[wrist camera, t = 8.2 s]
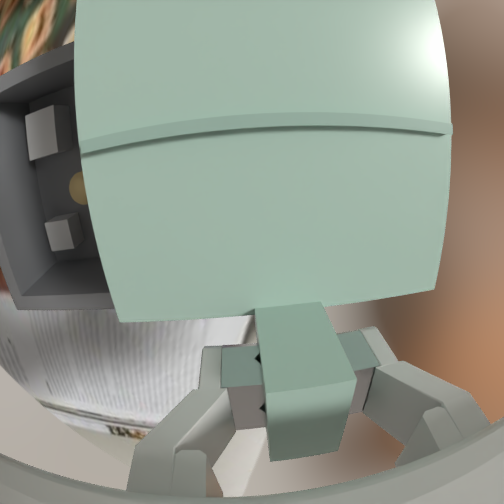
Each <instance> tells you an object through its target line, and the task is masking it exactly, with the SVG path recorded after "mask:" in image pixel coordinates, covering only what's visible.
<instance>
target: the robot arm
mask: <svg viewBox="0 0 504 504" xmlns="http://www.w3.org/2000/svg"><path fill="white" fill-rule="evenodd" d="M336 334H337V336H338V339H339V341H340V343H341V345H342V347H343V349H344V351H345V354H346V356H347V358H348V360H349V362H350V365H351V367H352V369H353V371H354V373H355V376H356V378H357V382H356V386H355V390H354V394H353V399H352V403H351V406H350V410H349V414H353V413H358V412H362V411H363V413H364V414H365V415H366V416H368V417H369V418H370V419H371V420H373V421H374V422H375V423H376V424H378V425H379V426H380V427H382V428H383V429H384V430H385V431H387V432H388V433H389V434H391V435H392V436H393V437H394V438H396V439H397V440H398V441H400V442H401V443H402V444H404V445H405V448H404V449H403V451H402V453H401V454H400V456H399V457H398V459H397V461H396V462H395V465H396V468H393V469H390V470H387V471H384V472H380V473H377V474H374V475H370V476H367V477H364V478H359V479H356V480H352V481H347V482H343V483H339V484H335V485H330V486H325V487H320V488H315V489H308V490H303V491H296V492H289V493H281V494H271V495H260V496H247V497H223V492H222V490H221V487H220V485H219V483H218V481H217V479H216V476H215V474H214V472H213V469H212V467H213V465H214V464H215V463H216V461H217V460H218V458H219V457H220V455H221V454H222V452H223V451H224V449H225V448H226V446H227V445H228V443H229V442H230V440H231V439H232V437H233V435H234V434H235V432H236V430H242V429H252V428H261V427H267V426H266V412H265V404H264V403H265V397H264V384H263V376H262V368H261V364H260V352H259V345H258V343H254V344H238V345H223V346H204V348H203V350H202V358H201V368H200V377H199V387H198V389H196V390H192V391H191V392H190V393H189V394H188V395H187V396H186V397H185V398H184V399H183V400H182V401H181V402H180V403H179V404H178V405H177V406H176V407H175V408H174V409H173V410H172V411H171V412H170V413H169V414H168V415H167V416H166V417H165V418H164V419H163V420H162V421H161V422H160V423H159V424H158V425H157V426H155V427H154V428H153V429H152V430H151V431H150V432H149V433H148V434H147V435H146V436H145V437H144V438H143V439H142V440H141V441H140V442H139V443H138V444H137V445H136V446H135V450H134V455H133V459H132V464H131V469H130V474H129V479H128V484H127V489H126V490H120V489H114V488H109V487H104V486H99V485H95V484H90V483H86V482H82V481H78V480H74V479H70V478H67V477H63V476H60V475H57V474H54V473H50V472H47V471H44V470H41V469H39V468H36V467H33V466H30V465H28V464H25V463H22V462H20V461H17V460H15V459H12V458H10V457H8V456H5V455H3V454H1V453H0V504H504V417H503V418H501V419H499V420H498V421H496V422H494V423H493V424H490V422H489V421H488V419H487V418H486V416H485V415H484V413H483V412H482V410H481V409H480V407H479V406H478V404H477V403H476V401H475V400H474V399H473V397H472V396H471V394H470V393H469V392H467V391H465V390H463V389H461V388H459V387H456V386H454V385H452V384H450V383H448V382H446V381H444V380H442V379H440V378H438V377H436V376H433V375H431V374H429V373H427V372H425V371H423V370H421V369H419V368H417V367H415V366H413V365H411V364H409V363H407V362H405V361H400V362H398V360H397V358H396V357H395V355H394V354H393V352H392V351H391V349H390V348H389V346H388V344H387V343H386V341H385V340H384V338H383V337H382V335H381V334H380V332H379V331H378V329H377V328H376V327H374V326H373V327H368V328H363V329H358V330H354V331H349V332H343V333H336Z"/></svg>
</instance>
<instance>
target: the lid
mask: <svg viewBox="0 0 504 504" xmlns="http://www.w3.org/2000/svg"><path fill="white" fill-rule="evenodd" d="M74 86H75V106H76V120H77V131H78V140H79V149H80V157H81V164H82V171H83V177H84V184H85V190H86V195H87V201H88V206H89V211H90V216H91V221H92V225H93V230H94V234H95V238H96V243H97V247H98V251H99V255H100V259H101V262H102V266H103V270H104V273H105V277H106V280H107V284H108V287H109V291H110V294H111V297H112V300H113V303H114V307H115V310H116V313H117V316H118V319H119V322H151V321H173V320H191V319H206V318H220V317H233V316H244V315H255V325H256V337H257V343H258V345H259V352H260V364H261V368H262V376H263V384H264V397H265V403H264V404H265V412H266V426H267V427H266V432H267V440H268V448H269V456H270V461H271V462H272V461H281V460H288V459H296V458H302V457H308V456H314V455H320V454H325V453H330V452H334V451H338V449H339V445H340V441H341V439H342V435H343V432H344V428H345V425H346V421H347V418H348V414H349V410H350V406H351V403H352V399H353V394H354V390H355V386H356V382H357V378H356V376H355V373H354V371H353V369H352V367H351V365H350V362H349V360H348V358H347V356H346V354H345V351H344V349H343V347H342V345H341V343H340V341H339V339H338V336H337V334H336V332H335V330H334V328H333V326H332V324H331V322H330V320H329V318H328V315H327V313H326V311H325V309H324V307H327V306H334V305H342V304H348V303H356V302H363V301H369V300H375V299H382V298H388V297H394V296H400V295H406V294H411V293H417V292H422V291H428V290H433V289H434V288H435V284H436V279H437V274H438V269H439V264H440V258H441V252H442V245H443V239H444V232H445V225H446V217H447V208H448V198H449V185H450V167H451V135H453V128H452V127H453V125H452V124H451V111H450V94H449V82H448V73H447V64H446V56H445V49H444V43H443V38H442V31H441V26H440V21H439V17H438V13H437V8H436V3H435V0H77V7H76V20H75V39H74Z"/></svg>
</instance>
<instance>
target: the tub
mask: <svg viewBox="0 0 504 504" xmlns="http://www.w3.org/2000/svg"><path fill="white" fill-rule="evenodd" d="M0 266H1V269H2V272H3V275H4V278H5V280H6V283H7V286H8V288H9V291H10V293H11V296H12V298H13V301H14V303H15V305H16V308H17V310H85V309H115V307H114V303H113V300H112V297H111V294H110V291H109V287H108V284H107V280H106V277H105V273H104V270H103V266H102V262H101V259H100V255H99V251H98V247H97V243H96V238H95V234H94V230H93V225H92V221H91V216H90V211H89V206H88V201H87V195H86V190H85V184H84V177H83V171H82V164H81V157H80V149H79V140H78V131H77V120H76V106H75V86H74V42H71V43H69V44H66V45H64V46H61V47H59V48H56V49H54V50H52V51H49V52H47V53H45V54H42V55H40V56H38V57H36V58H34V59H32V60H30V61H28V62H26V63H24V64H22V65H20V66H18V67H16V68H14V69H12V70H10V71H9V72H7V73H5V74H3V75H1V76H0Z"/></svg>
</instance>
